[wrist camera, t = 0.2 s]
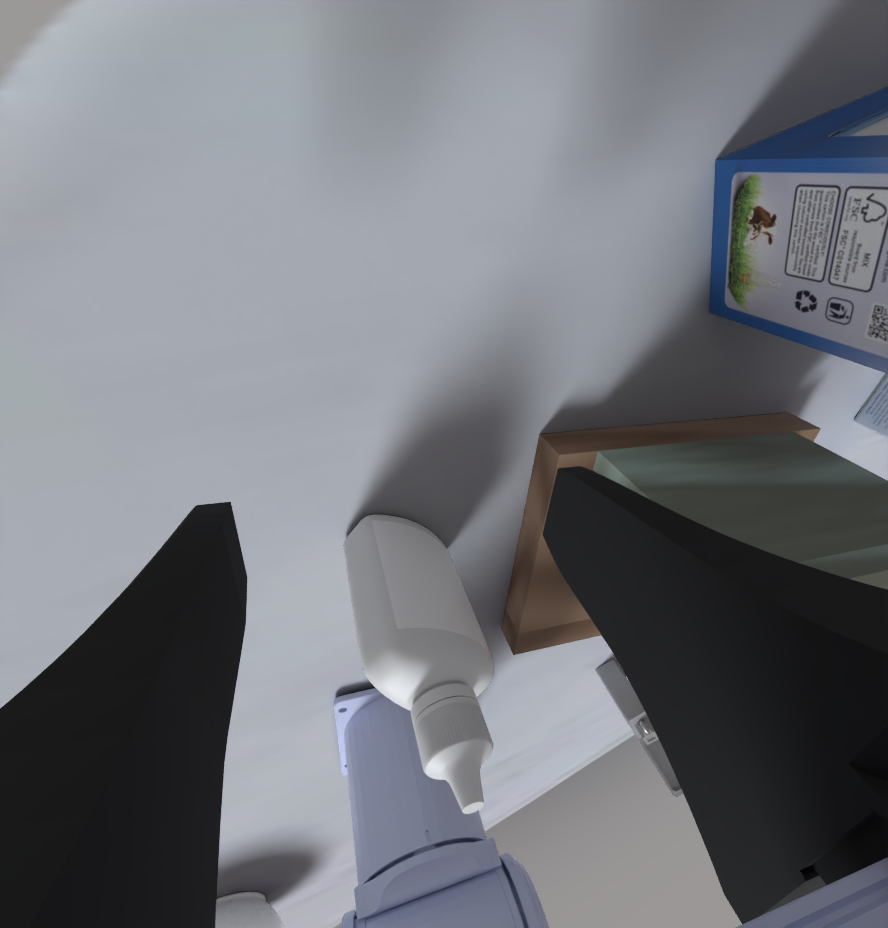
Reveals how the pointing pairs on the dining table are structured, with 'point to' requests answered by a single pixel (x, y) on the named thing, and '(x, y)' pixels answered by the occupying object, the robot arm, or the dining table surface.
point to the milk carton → (809, 233)
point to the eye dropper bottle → (422, 645)
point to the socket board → (705, 505)
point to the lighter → (638, 721)
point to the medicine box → (876, 410)
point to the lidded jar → (246, 912)
